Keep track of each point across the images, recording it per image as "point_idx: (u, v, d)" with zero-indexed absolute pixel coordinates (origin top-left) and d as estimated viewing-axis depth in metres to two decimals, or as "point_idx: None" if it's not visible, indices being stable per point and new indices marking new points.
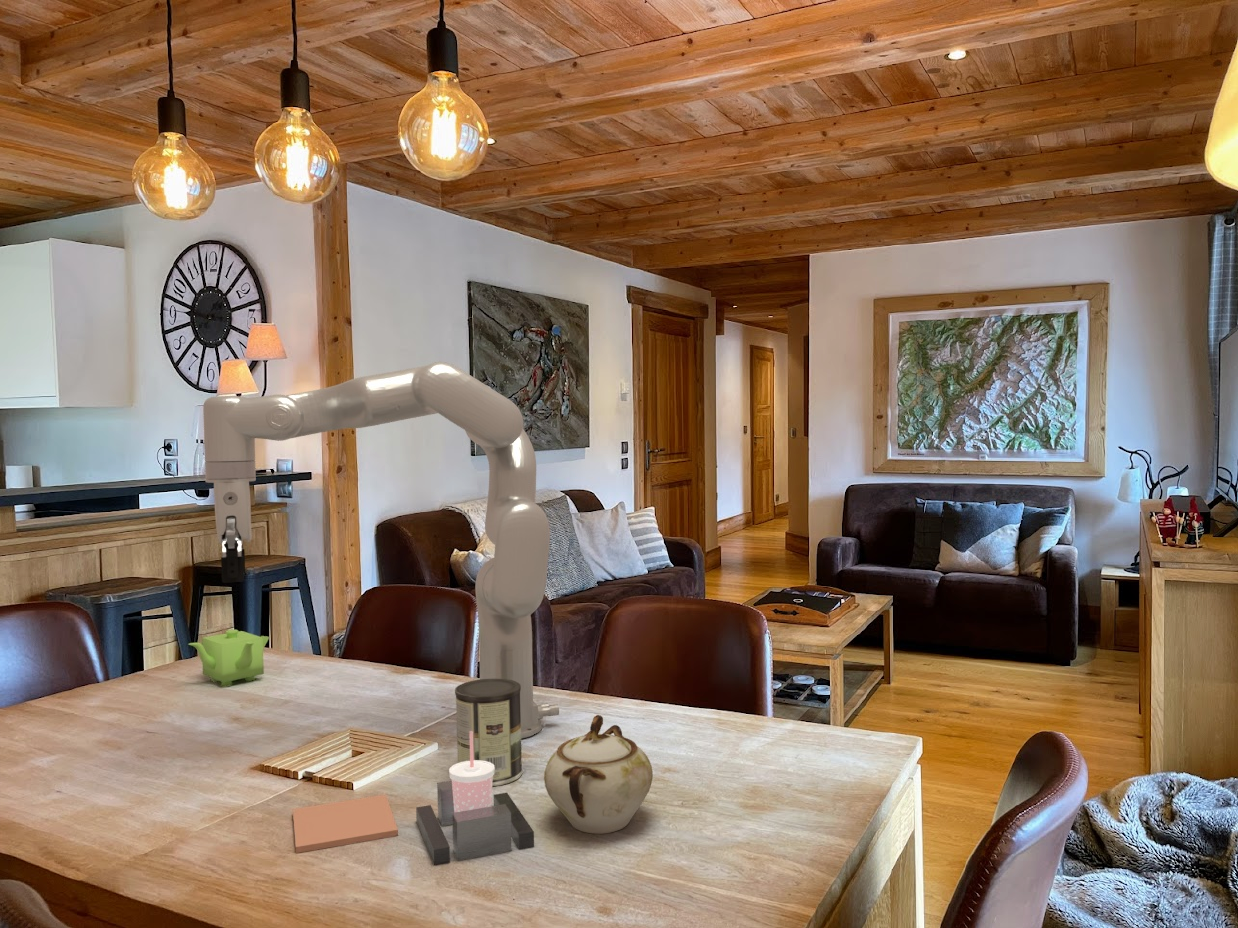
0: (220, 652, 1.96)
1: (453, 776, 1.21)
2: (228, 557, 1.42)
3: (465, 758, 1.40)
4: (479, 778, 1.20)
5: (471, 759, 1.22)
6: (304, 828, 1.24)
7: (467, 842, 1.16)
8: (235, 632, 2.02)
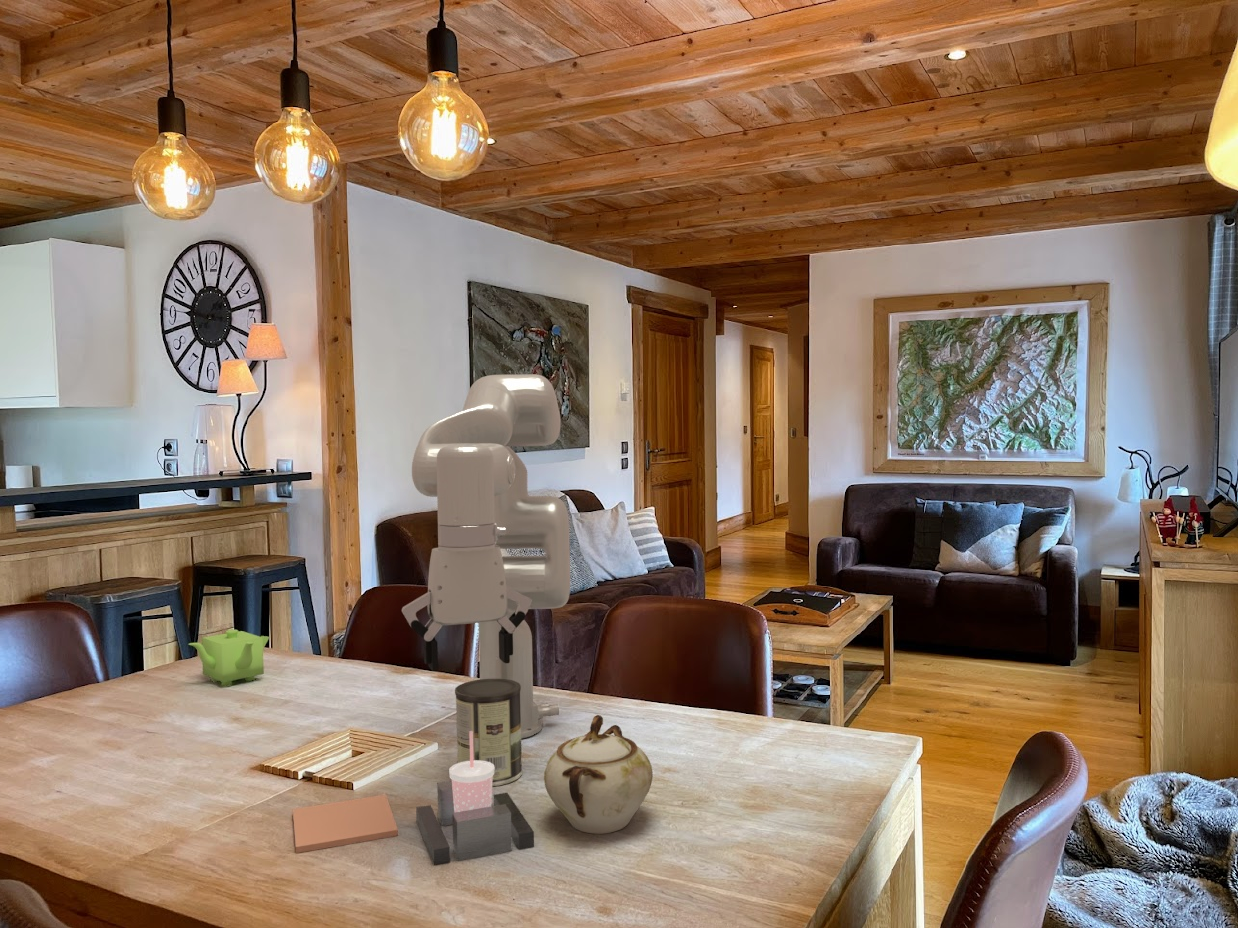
0: (220, 652, 1.96)
1: (453, 776, 1.21)
2: None
3: (465, 758, 1.40)
4: (479, 778, 1.20)
5: (471, 759, 1.22)
6: (304, 828, 1.24)
7: (467, 842, 1.16)
8: (235, 632, 2.02)
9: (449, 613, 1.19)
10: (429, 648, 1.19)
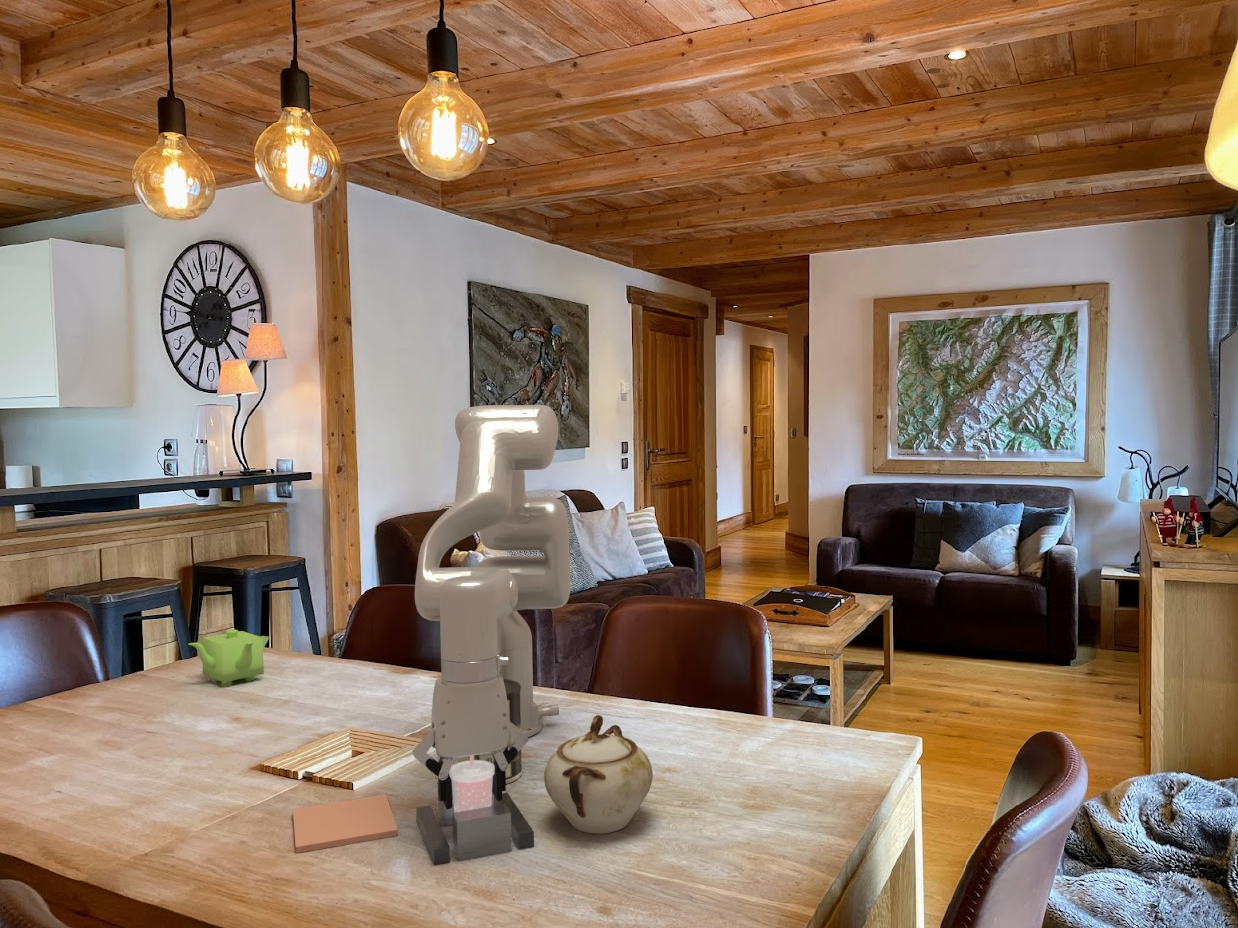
0: (220, 652, 1.96)
1: (453, 776, 1.21)
2: None
3: (465, 758, 1.40)
4: (479, 778, 1.20)
5: (471, 759, 1.22)
6: (304, 828, 1.24)
7: (467, 842, 1.16)
8: (235, 632, 2.02)
9: (452, 747, 1.19)
10: (443, 786, 1.20)
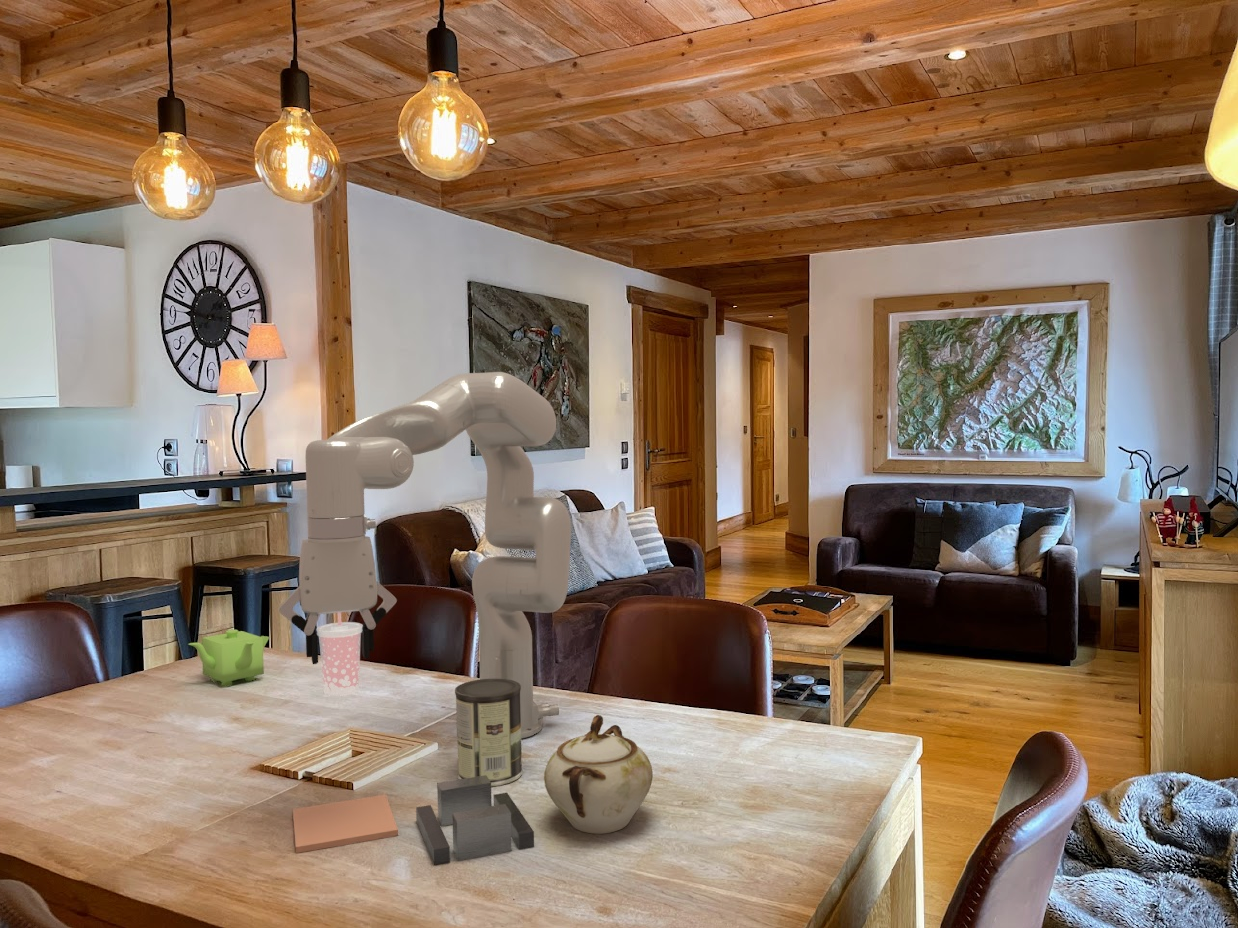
0: (220, 652, 1.96)
1: (319, 632, 1.23)
2: None
3: (465, 758, 1.40)
4: (344, 633, 1.23)
5: (338, 618, 1.25)
6: (304, 828, 1.24)
7: (467, 842, 1.16)
8: (235, 632, 2.02)
9: (317, 603, 1.22)
10: (310, 642, 1.23)
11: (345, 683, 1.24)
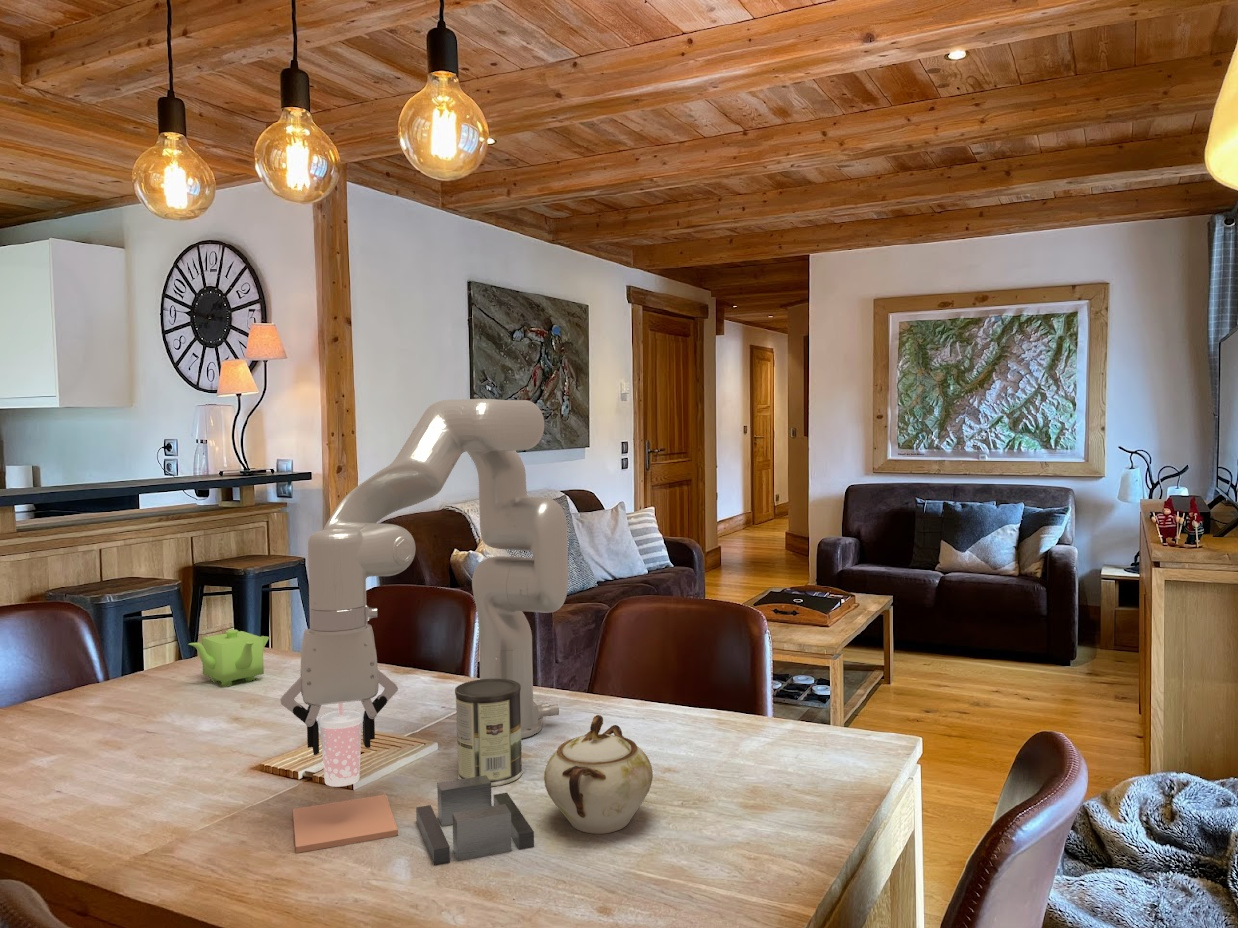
0: (220, 652, 1.96)
1: (320, 723, 1.24)
2: None
3: (465, 758, 1.40)
4: (345, 724, 1.23)
5: (340, 707, 1.26)
6: (304, 828, 1.24)
7: (467, 842, 1.16)
8: (235, 632, 2.02)
9: (318, 694, 1.23)
10: (311, 733, 1.24)
11: (346, 774, 1.24)
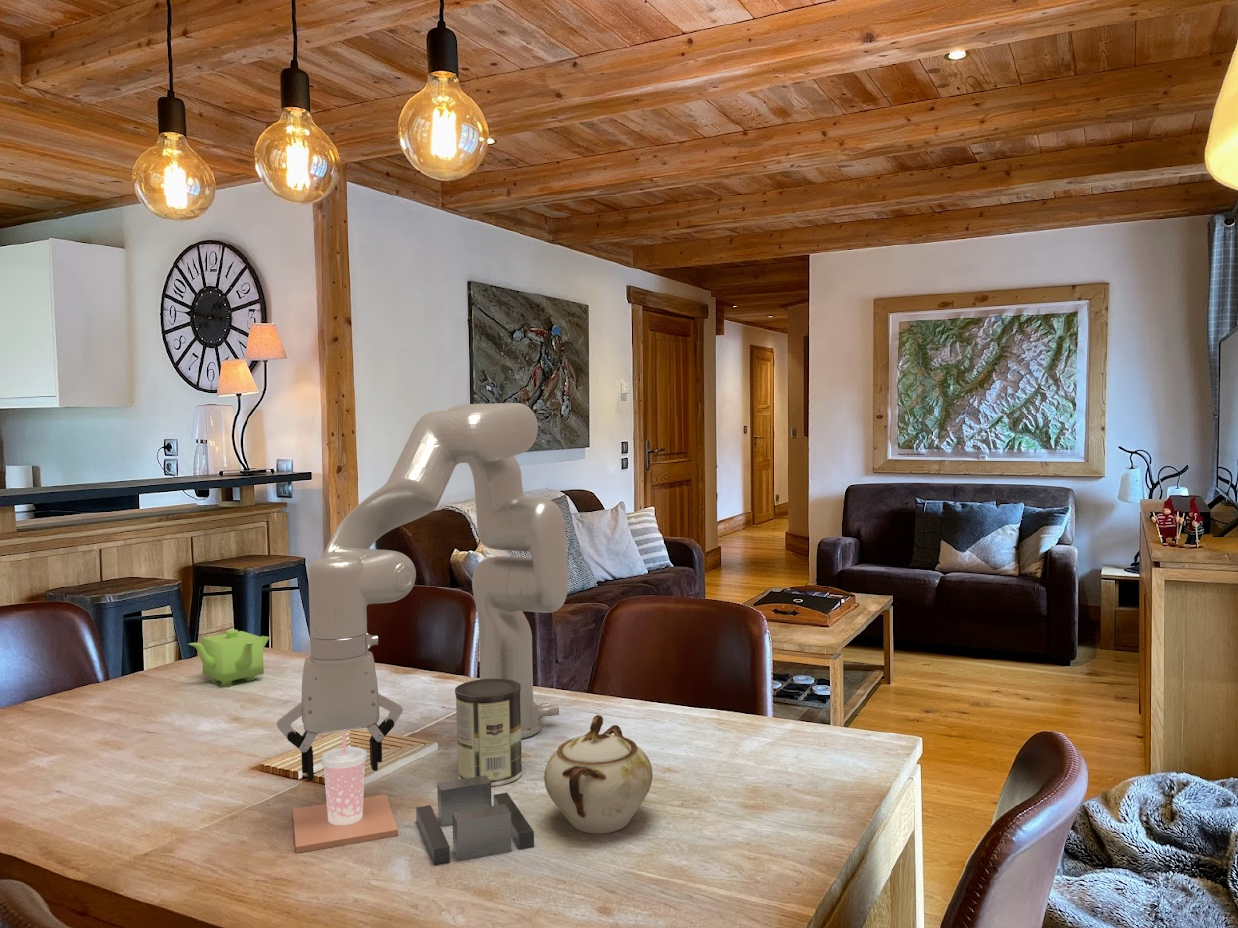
0: (220, 652, 1.96)
1: (323, 762, 1.24)
2: None
3: (465, 758, 1.40)
4: (348, 764, 1.24)
5: (343, 746, 1.26)
6: (304, 828, 1.24)
7: (467, 842, 1.16)
8: (235, 632, 2.02)
9: (319, 722, 1.23)
10: (305, 758, 1.24)
11: (349, 813, 1.25)
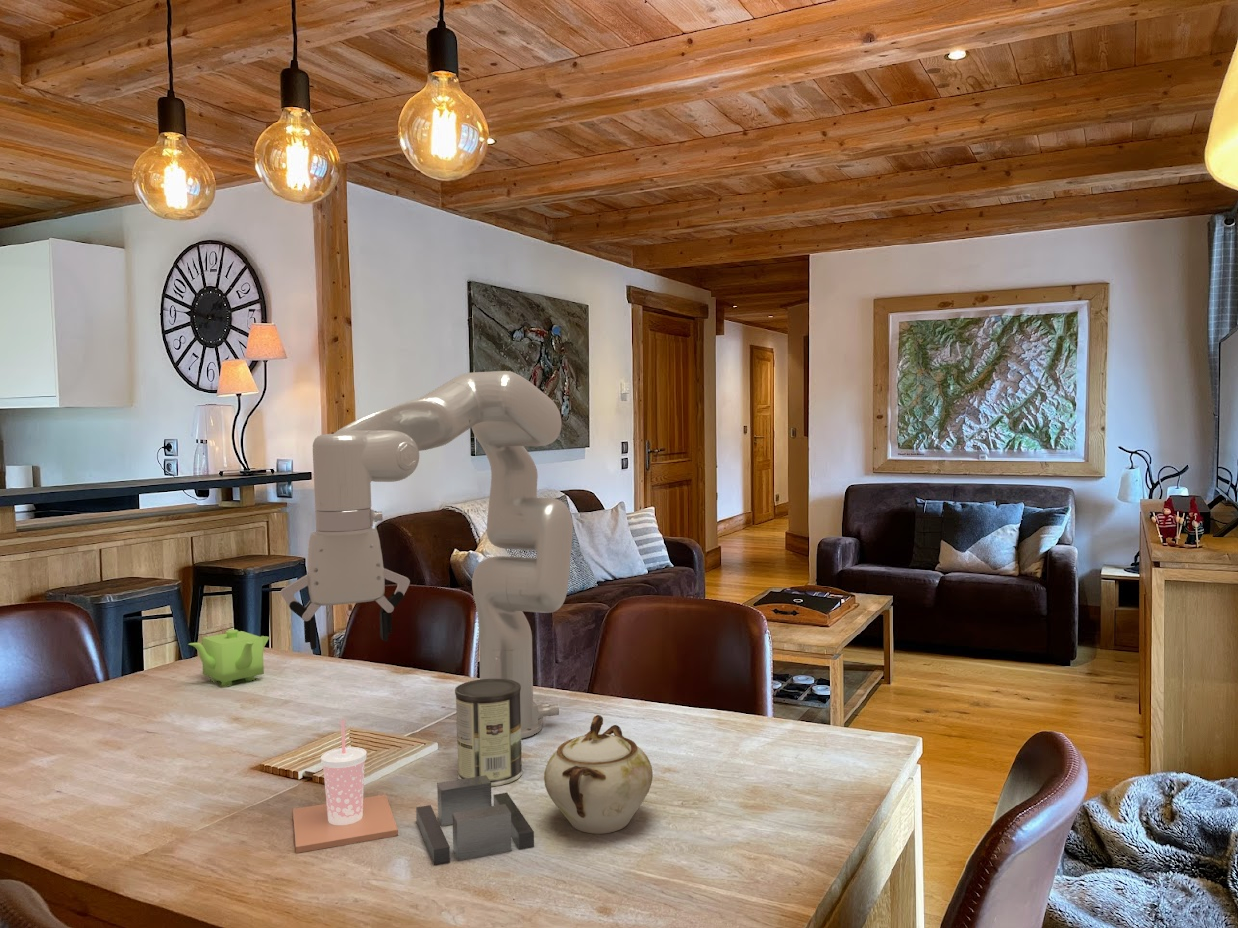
0: (220, 652, 1.96)
1: (323, 762, 1.24)
2: None
3: (465, 758, 1.40)
4: (347, 763, 1.24)
5: (343, 745, 1.26)
6: (304, 828, 1.24)
7: (467, 842, 1.16)
8: (235, 632, 2.02)
9: (326, 594, 1.24)
10: (308, 627, 1.25)
11: (348, 813, 1.25)
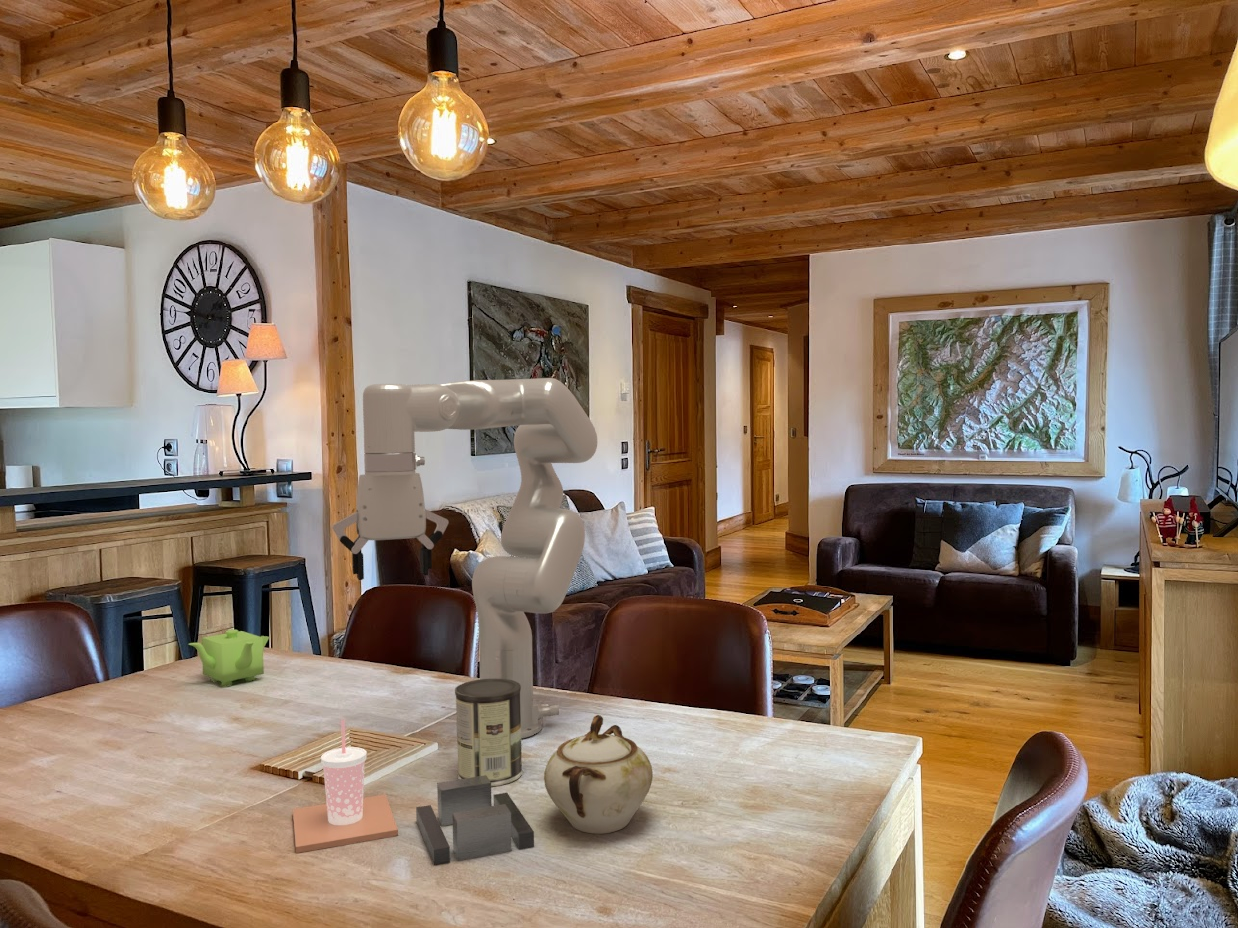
0: (220, 652, 1.96)
1: (323, 762, 1.24)
2: (431, 548, 1.41)
3: (465, 758, 1.40)
4: (347, 763, 1.24)
5: (343, 745, 1.26)
6: (304, 828, 1.24)
7: (467, 842, 1.16)
8: (235, 632, 2.02)
9: (373, 529, 1.36)
10: (356, 560, 1.37)
11: (348, 813, 1.25)
